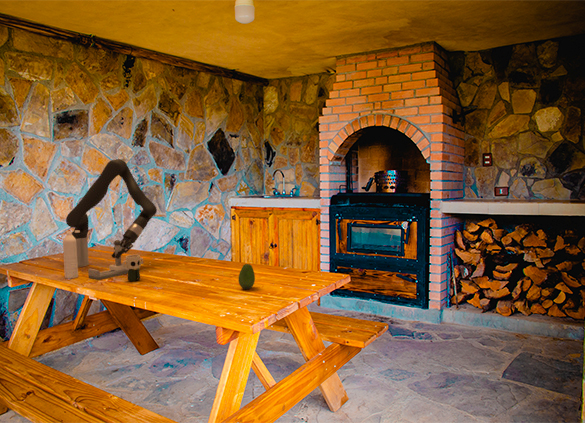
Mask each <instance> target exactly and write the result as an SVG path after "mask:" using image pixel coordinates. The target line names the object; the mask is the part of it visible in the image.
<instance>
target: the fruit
mask: <svg viewBox="0 0 585 423" xmlns="http://www.w3.org/2000/svg"><path fill="white" fill-rule="evenodd" d="M255 282H256V275H255V272H254V268H253V266H252V265H251V264H249V263H245V264H243V266H242V267H241V269H240V271H239V275H238V285H239V286H240V288H242V289H243V290H249V289H251V288H252V287H253V286H254V285H255Z"/></svg>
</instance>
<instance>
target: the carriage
mask: <svg viewBox="0 0 585 423" xmlns="http://www.w3.org/2000/svg"><path fill="white" fill-rule="evenodd" d="M120 241H121V240H120V239H115V240H114V241H113V246H114V247H115V250H114V252H115V256H116V254H117V253H118V252H119V251H120V249H121V248H120V244H121V242H120ZM114 260H115V262H114V264H110V265H109V267H108V268H109V270H114V271H118V270H123V269H128V268H126V267H123V263H122V255H121V256H120V257H119V259H117V258H116V257H115V258H114ZM125 265H126V263H125Z"/></svg>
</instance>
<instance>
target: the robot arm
mask: <svg viewBox="0 0 585 423" xmlns="http://www.w3.org/2000/svg"><path fill="white" fill-rule="evenodd" d="M118 176H120V178H121V180H123V182H124V183H125V186H126V189H127V192H128V194H129V196H130V197H131V198H132V200H133V202H134V203H135V204H136V205H137V206H140V207H141V208H142V210H141V211H140V213H139V214H138V217H136V219H135V220H134V221H133V222H132V224H130V225H129V226H128V228H127V229H126V230H125V231H124V234H123V235H122V239H120V240H119V241H120V242H121V244H120V248H121V249H120V251H119V252H118V253H117V254H116V256H115V246H114V247H113V250H114V251H113V253H112V254H111V258H112V259H115V257H116V258H117V259H119V257H120V256H121V257H122V255H123V254H126V253H128V252H129V251H130V250H131V249H132V248H133V247H134V244H135V243H136V241H137V240H138V238H139V237H140V236H141V235H142V232H143V231H144V230H145V229H146V227H147V225H148V223H149V222H150V220H151V219H152V218H153V217H155V215H156V214H157V210H158V208H157V207H156V205H155V204H154V202H152V200H150V199H149V198H148V197H147V196H146V194H145V192H144V191H143V190H142V189H141V187H140V186H139V184H138V183H137V181H136V179H135V178H134V176H133V174H132V172H131V170H130V168H129V166H128V164H127V163H126V161H125V160H123V159H119V158H116V159H111V160H109V161H108V162H107V164H106V165H105V167H104V168H103V170H102V172H101V173H100V175H99V176H98V178H96V180H95V181H94V183H93V184H92V185H91V186H90V187H89V188H88V189H87V191H86V192H85V194H84V195H83V197H82V198H81V199H80V201H79V202H78V203H77V205H76V206H75V207H74V208H73V209H72V210H71V211H70V212H69V213H68V214H67V216H66V218H65V222H66V225H67V226H68V227H70V228H74V229H73V231H71V233H72V235H73V236H74V238H75V239H76V246H77V247H76V248H77V263H78V268H80V267H87V266H89V265H90V262H89V246H88V245H89V244H88V233H89V216H88V214H87V213H88V212H89V211H90V210H91V209H93V208H95V207H96V206H97V205H98V204H100V203H101V202H102V200H103V199H104V198H105V197H106V195H107V193H108V190H109V187H110V185H111V183H112V182H113V180H115V179H116V178H117V177H118ZM75 231H80V232H79V233H75Z"/></svg>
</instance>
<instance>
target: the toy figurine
mask: <svg viewBox="0 0 585 423" xmlns="http://www.w3.org/2000/svg"><path fill="white" fill-rule="evenodd" d="M122 264H123V267H126V268H128V269H129V270H128V274H127V280H128V281H131V282H133V281H140V280H141V274H140V268H141V265H142V264H144V258H143V257H141V255H140V254H128V255H125V260H123V261H122ZM125 264H126V265H125ZM138 268H139V269H138Z"/></svg>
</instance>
